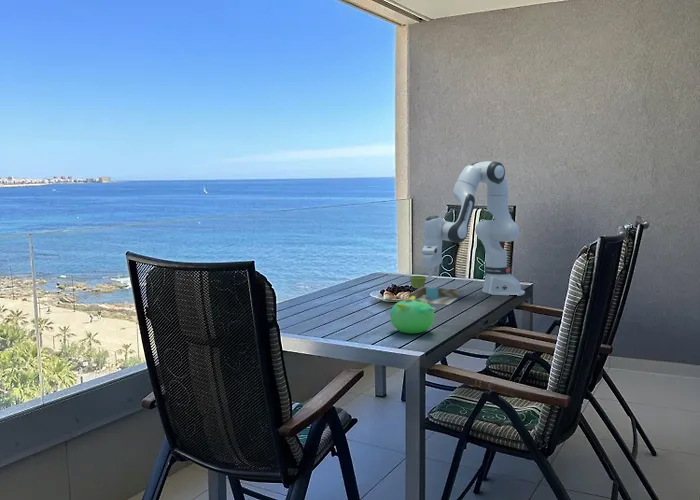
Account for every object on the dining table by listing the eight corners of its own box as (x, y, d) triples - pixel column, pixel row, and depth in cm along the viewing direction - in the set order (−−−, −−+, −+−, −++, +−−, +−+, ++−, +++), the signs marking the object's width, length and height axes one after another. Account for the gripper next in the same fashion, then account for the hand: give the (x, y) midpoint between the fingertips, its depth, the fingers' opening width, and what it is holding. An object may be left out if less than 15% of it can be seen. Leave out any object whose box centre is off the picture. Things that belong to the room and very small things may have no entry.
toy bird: (430, 327, 268) (431, 293, 266) (437, 338, 251) (438, 301, 249) (388, 328, 267) (388, 293, 266) (392, 338, 251) (392, 301, 249)
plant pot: (426, 291, 350) (426, 275, 349) (426, 294, 341) (426, 278, 340) (409, 291, 351) (409, 275, 350) (409, 294, 342) (409, 278, 341)
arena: (459, 299, 328) (459, 289, 328) (448, 306, 310) (448, 296, 310) (422, 296, 336) (422, 286, 336) (409, 303, 318) (409, 293, 318)
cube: (429, 296, 329) (429, 287, 328) (438, 297, 327) (438, 287, 326) (426, 298, 325) (426, 288, 324) (435, 299, 322) (435, 289, 322)
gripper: (433, 245, 333) (433, 271, 335) (420, 250, 315) (420, 278, 317) (444, 245, 331) (444, 271, 333) (432, 251, 312) (433, 278, 314)
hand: (433, 275), depth 325 cm, fingers open, 8 cm apart
